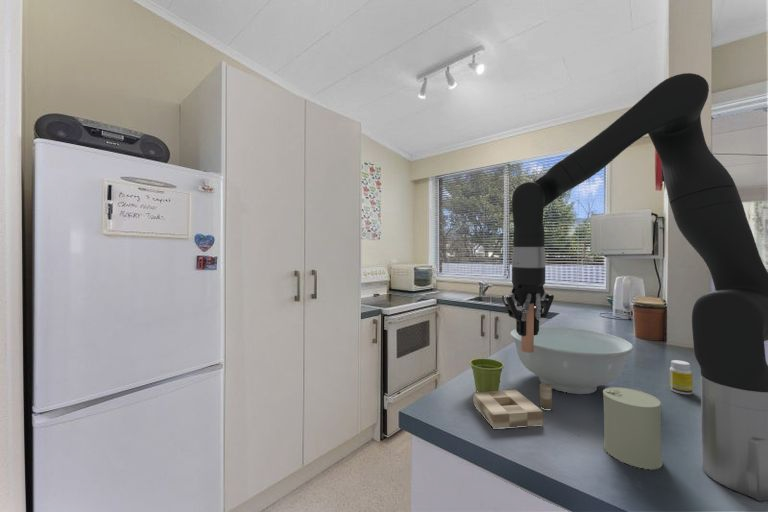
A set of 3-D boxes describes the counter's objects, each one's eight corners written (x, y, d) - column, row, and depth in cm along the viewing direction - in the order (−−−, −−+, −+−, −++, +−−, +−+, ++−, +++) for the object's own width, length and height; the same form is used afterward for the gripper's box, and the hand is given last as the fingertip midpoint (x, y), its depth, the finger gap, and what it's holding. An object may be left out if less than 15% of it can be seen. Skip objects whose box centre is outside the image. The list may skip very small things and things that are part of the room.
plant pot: (472, 384, 98) (471, 356, 98) (504, 389, 94) (504, 360, 94) (468, 397, 89) (467, 366, 89) (503, 402, 86) (503, 370, 86)
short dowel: (554, 410, 81) (554, 387, 81) (544, 411, 81) (543, 387, 81) (547, 405, 84) (547, 382, 84) (537, 406, 83) (537, 383, 83)
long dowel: (535, 352, 77) (536, 303, 77) (524, 352, 77) (525, 304, 77) (529, 348, 80) (530, 301, 80) (519, 349, 80) (519, 302, 80)
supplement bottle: (697, 395, 88) (696, 365, 88) (677, 394, 89) (676, 364, 89) (684, 388, 93) (683, 359, 93) (665, 387, 94) (665, 359, 94)
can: (605, 436, 69) (604, 381, 69) (661, 451, 63) (660, 392, 63) (601, 456, 62) (600, 395, 62) (663, 477, 56) (662, 409, 56)
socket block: (543, 426, 74) (542, 411, 74) (493, 430, 72) (493, 414, 72) (516, 402, 85) (515, 389, 85) (473, 405, 84) (473, 392, 84)
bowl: (617, 373, 105) (616, 329, 105) (651, 419, 76) (650, 358, 76) (513, 361, 119) (512, 322, 119) (508, 396, 90) (507, 344, 90)
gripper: (513, 266, 73) (512, 341, 73) (564, 265, 76) (563, 337, 77) (494, 265, 80) (493, 332, 80) (541, 264, 83) (540, 329, 84)
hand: (527, 334), depth 78 cm, fingers closed on long dowel, 2 cm apart
